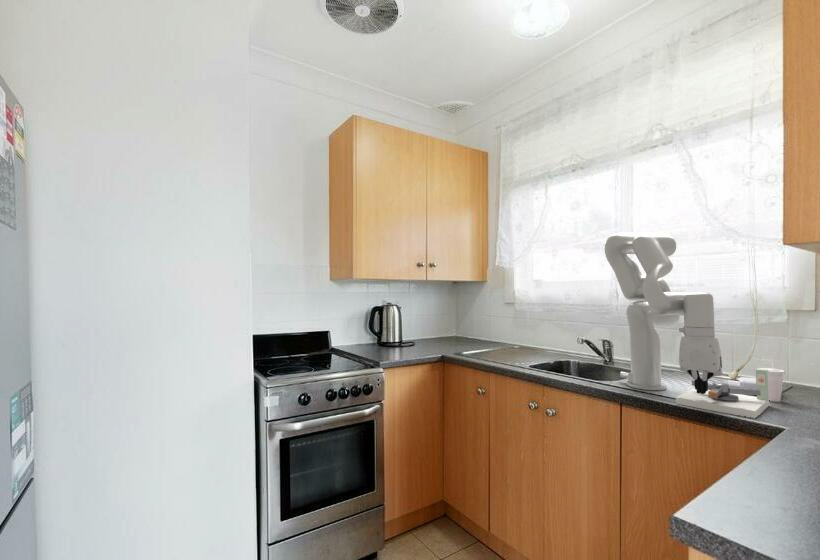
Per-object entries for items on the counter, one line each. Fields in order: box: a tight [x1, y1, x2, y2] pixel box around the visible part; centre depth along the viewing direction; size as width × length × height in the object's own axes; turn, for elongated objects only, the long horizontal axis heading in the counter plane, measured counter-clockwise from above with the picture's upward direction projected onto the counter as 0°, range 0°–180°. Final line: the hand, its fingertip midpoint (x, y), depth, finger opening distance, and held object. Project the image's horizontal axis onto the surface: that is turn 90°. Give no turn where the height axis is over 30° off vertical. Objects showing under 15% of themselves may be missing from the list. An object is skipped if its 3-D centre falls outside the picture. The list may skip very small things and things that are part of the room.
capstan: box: [691, 379, 761, 401], centre depth 120 cm, size 17×15×4 cm
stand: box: [675, 367, 770, 419], centre depth 122 cm, size 19×19×11 cm
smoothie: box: [759, 355, 786, 403], centre depth 126 cm, size 6×6×14 cm
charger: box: [719, 376, 756, 389], centre depth 136 cm, size 5×9×15 cm
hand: (701, 392), depth 120 cm, fingers closed
